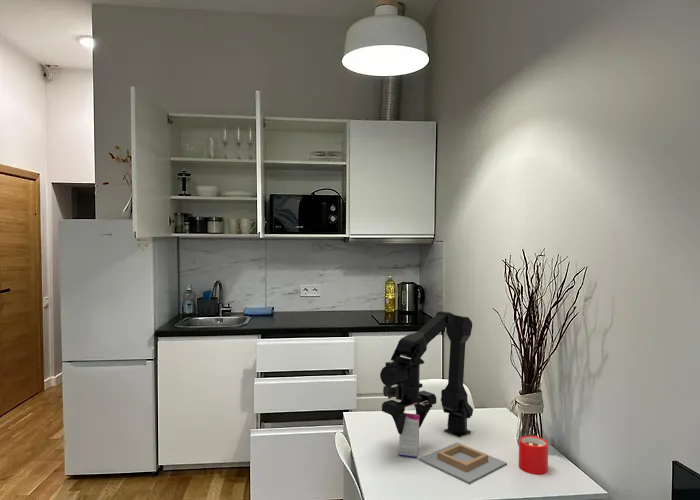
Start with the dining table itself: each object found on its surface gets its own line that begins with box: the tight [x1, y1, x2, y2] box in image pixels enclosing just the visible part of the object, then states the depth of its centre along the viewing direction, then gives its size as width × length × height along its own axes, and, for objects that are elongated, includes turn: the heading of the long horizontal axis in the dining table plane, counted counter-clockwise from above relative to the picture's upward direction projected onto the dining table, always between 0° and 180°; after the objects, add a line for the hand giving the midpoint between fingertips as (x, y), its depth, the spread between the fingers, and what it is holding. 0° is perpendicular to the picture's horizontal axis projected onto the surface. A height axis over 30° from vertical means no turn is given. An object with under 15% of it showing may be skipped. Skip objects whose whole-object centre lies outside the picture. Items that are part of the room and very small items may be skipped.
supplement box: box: [398, 412, 420, 459], centre depth 148 cm, size 6×6×12 cm
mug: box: [518, 435, 549, 476], centre depth 142 cm, size 8×12×8 cm, turn 154°
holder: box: [418, 442, 508, 485], centre depth 143 cm, size 18×18×3 cm
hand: (409, 430), depth 149 cm, fingers closed on supplement box, 8 cm apart
